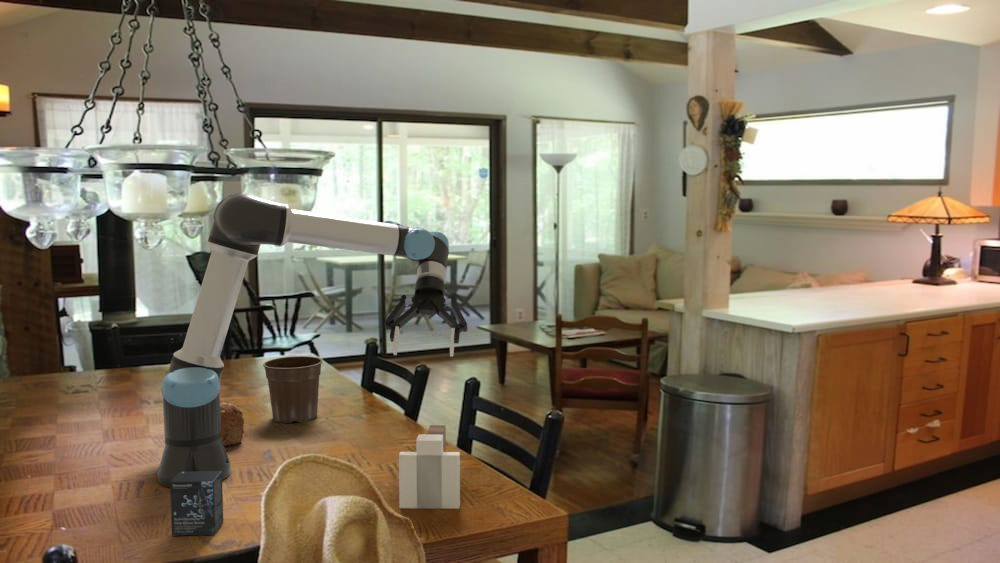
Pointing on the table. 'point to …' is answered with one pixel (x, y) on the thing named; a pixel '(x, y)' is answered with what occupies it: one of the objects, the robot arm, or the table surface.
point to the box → (196, 503)
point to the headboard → (429, 475)
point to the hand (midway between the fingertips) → (423, 352)
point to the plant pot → (293, 387)
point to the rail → (439, 433)
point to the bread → (231, 423)
